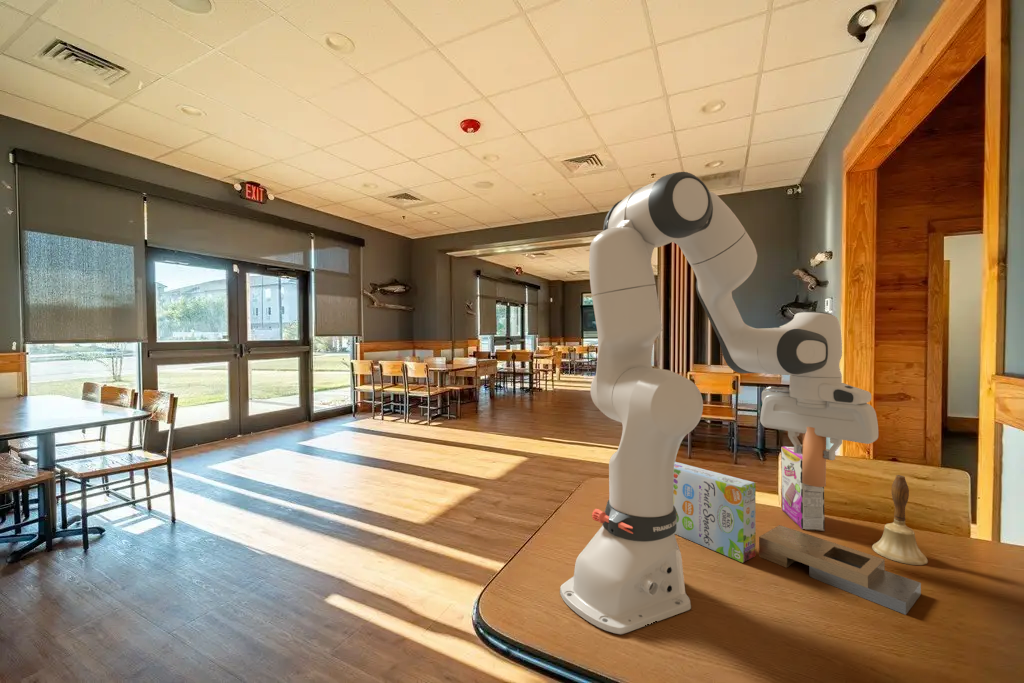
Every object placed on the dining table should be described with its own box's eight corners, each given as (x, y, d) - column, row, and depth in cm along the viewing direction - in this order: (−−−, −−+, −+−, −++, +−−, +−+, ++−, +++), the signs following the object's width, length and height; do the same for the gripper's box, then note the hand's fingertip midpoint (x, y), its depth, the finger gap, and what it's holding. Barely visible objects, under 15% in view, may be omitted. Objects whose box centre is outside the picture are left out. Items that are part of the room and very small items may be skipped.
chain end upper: (867, 599, 71) (867, 576, 71) (759, 556, 85) (759, 536, 85) (884, 581, 76) (884, 559, 76) (779, 543, 90) (779, 525, 90)
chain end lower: (905, 614, 67) (905, 602, 67) (809, 576, 78) (809, 565, 78) (920, 594, 72) (920, 582, 72) (828, 561, 83) (828, 551, 83)
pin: (821, 488, 85) (821, 429, 85) (798, 482, 89) (799, 425, 89) (828, 484, 88) (829, 426, 88) (806, 479, 91) (807, 423, 91)
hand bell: (928, 554, 85) (928, 475, 85) (927, 570, 79) (926, 485, 79) (874, 540, 91) (874, 466, 91) (869, 554, 85) (869, 475, 85)
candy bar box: (780, 510, 107) (779, 445, 107) (802, 511, 106) (802, 446, 106) (801, 530, 96) (800, 458, 96) (825, 532, 95) (825, 459, 95)
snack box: (757, 556, 85) (757, 481, 85) (743, 565, 82) (742, 487, 82) (666, 519, 103) (666, 457, 102) (651, 525, 99) (651, 461, 99)
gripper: (755, 386, 95) (754, 447, 95) (870, 396, 78) (870, 471, 78) (768, 384, 98) (767, 443, 98) (881, 394, 82) (880, 465, 82)
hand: (814, 456), depth 88 cm, fingers closed on pin, 4 cm apart
